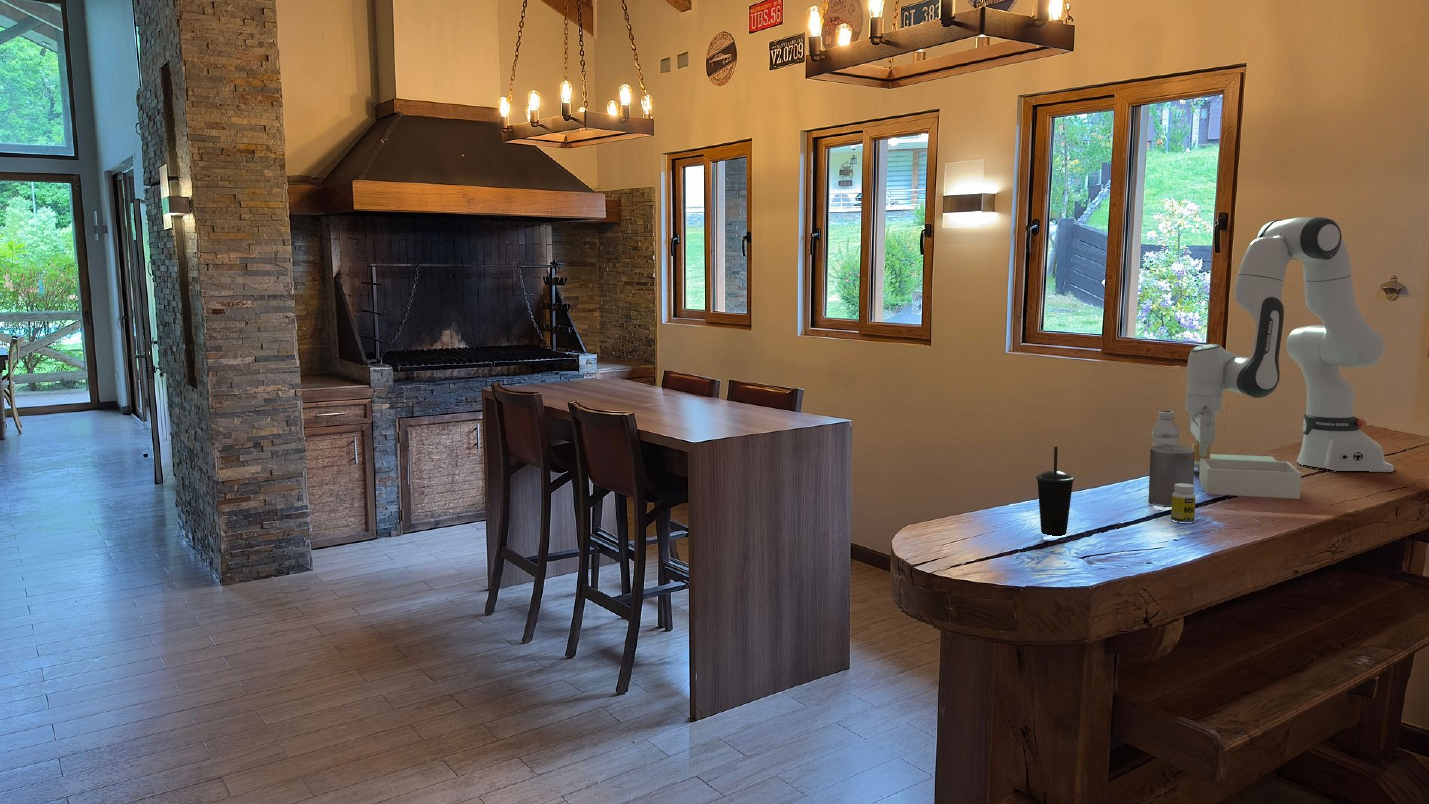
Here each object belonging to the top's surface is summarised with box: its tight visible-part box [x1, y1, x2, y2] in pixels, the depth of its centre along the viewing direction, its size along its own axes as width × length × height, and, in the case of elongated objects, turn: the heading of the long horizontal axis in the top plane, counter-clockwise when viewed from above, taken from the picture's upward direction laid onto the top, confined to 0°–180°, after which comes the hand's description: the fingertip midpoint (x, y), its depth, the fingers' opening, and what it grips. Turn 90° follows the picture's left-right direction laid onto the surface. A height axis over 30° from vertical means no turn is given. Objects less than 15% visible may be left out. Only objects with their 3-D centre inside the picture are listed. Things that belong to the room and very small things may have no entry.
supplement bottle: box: [1170, 483, 1197, 523], centre depth 212 cm, size 5×5×8 cm
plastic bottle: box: [1151, 409, 1180, 446], centre depth 243 cm, size 6×7×20 cm
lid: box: [1191, 442, 1277, 472], centre depth 256 cm, size 21×15×6 cm
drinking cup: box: [1035, 446, 1076, 536], centre depth 200 cm, size 8×8×20 cm
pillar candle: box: [1147, 443, 1195, 507], centre depth 227 cm, size 10×10×15 cm
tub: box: [1198, 458, 1302, 500], centre depth 237 cm, size 20×14×7 cm
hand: (1201, 454), depth 259 cm, fingers closed on lid, 3 cm apart
